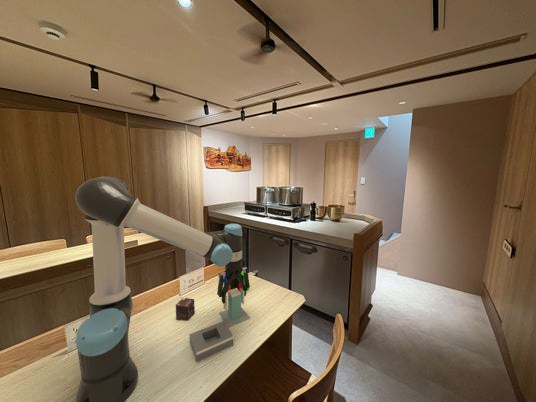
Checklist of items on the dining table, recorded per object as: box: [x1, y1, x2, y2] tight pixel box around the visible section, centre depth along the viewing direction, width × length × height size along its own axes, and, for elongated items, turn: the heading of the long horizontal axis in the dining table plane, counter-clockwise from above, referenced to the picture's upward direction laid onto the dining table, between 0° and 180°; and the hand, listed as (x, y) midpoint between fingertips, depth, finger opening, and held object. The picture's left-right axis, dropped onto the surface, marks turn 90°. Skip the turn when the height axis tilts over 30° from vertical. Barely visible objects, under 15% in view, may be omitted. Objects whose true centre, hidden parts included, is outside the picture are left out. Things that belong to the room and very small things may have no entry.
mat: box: [218, 306, 251, 328], centre depth 98 cm, size 11×11×1 cm
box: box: [175, 297, 196, 322], centre depth 97 cm, size 6×6×7 cm
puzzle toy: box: [223, 271, 250, 293], centre depth 120 cm, size 10×10×10 cm
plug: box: [227, 288, 242, 320], centre depth 97 cm, size 4×4×12 cm
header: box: [189, 320, 235, 362], centre depth 82 cm, size 14×10×4 cm
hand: (234, 305), depth 97 cm, fingers open, 8 cm apart
